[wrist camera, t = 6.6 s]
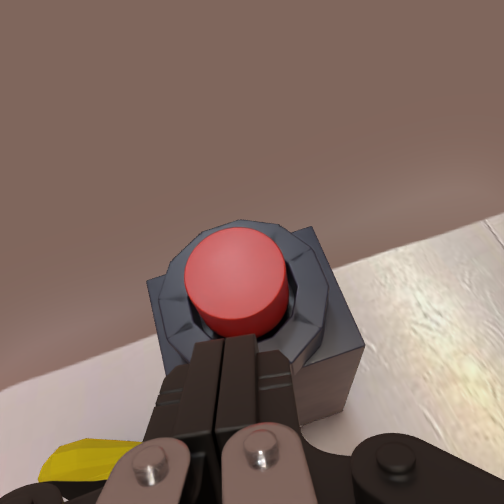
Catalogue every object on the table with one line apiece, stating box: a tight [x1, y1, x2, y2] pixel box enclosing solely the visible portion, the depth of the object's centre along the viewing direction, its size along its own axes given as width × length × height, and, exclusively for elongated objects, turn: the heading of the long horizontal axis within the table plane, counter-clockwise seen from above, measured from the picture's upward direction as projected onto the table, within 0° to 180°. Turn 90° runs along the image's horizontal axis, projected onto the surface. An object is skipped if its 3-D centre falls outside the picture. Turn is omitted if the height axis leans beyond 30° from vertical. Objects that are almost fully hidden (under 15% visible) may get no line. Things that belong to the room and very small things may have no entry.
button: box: [184, 227, 289, 338], centre depth 17 cm, size 4×4×2 cm
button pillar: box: [146, 220, 365, 426], centre depth 25 cm, size 8×6×18 cm
